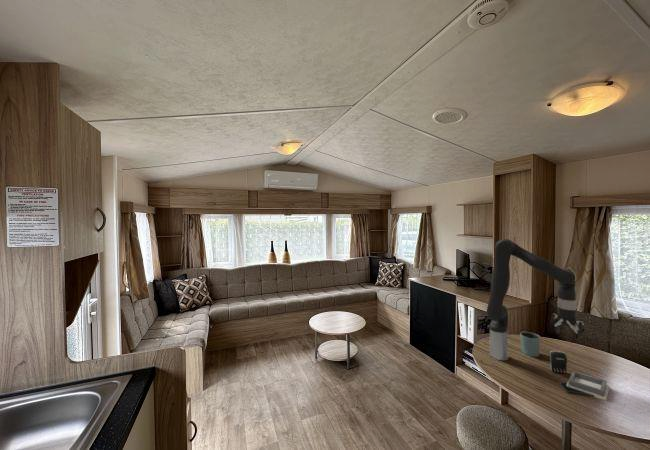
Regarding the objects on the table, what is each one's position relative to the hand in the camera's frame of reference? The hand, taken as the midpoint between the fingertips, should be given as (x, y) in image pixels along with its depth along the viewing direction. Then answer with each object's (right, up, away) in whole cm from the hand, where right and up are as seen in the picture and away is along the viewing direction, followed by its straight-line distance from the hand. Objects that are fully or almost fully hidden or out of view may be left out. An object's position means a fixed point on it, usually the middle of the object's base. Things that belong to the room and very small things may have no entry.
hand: (567, 336), depth 143 cm
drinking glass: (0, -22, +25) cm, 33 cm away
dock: (+1, -22, -10) cm, 24 cm away
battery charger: (-1, -22, +4) cm, 22 cm away
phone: (-4, -23, -12) cm, 26 cm away
